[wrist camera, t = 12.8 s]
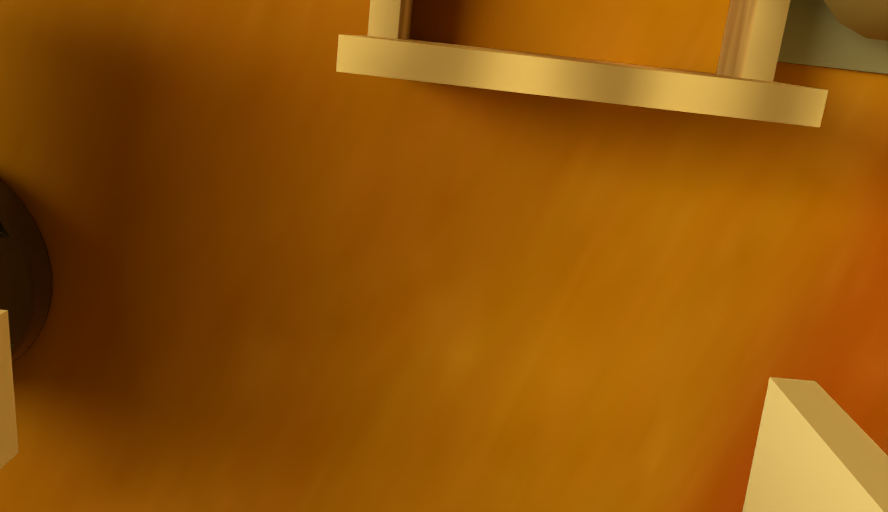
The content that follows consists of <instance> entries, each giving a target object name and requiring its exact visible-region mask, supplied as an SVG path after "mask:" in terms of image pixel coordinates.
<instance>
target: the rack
mask: <svg viewBox="0 0 888 512" xmlns="http://www.w3.org/2000/svg"><path fill="white" fill-rule="evenodd" d="M789 5H790V0H731V1H730V6H729V11H728V16H727V21H726V26H725V32H724V37H723V42H722V47H721V52H720V57H719V62H718V67H717V72H716V74H713V73H704V72H695V71H686V70H678V69H669V68H660V67H651V66H642V65H633V64H625V63H616V62H607V61H598V60H589V59H581V58H572V57H563V56H554V55H545V54H536V53H528V52H519V51H510V50H501V49H492V48H483V47H475V46H466V45H457V44H448V43H439V42H431V41H422V40H413V39H410V28H411V17H412V7H413V0H370V12H369V25H368V36H366V35H339V39H338V53H337V67H336V72H345V73H354V74H362V75H371V76H380V77H388V78H397V79H406V80H414V81H423V82H431V83H440V84H449V85H457V86H466V87H475V88H483V89H492V90H501V91H509V92H518V93H526V94H535V95H544V96H552V97H561V98H570V99H578V100H587V101H596V102H604V103H613V104H621V105H630V106H639V107H647V108H656V109H665V110H673V111H682V112H691V113H699V114H708V115H717V116H725V117H734V118H742V119H751V120H760V121H768V122H777V123H786V124H794V125H803V126H812V127H820V125H821V120H822V116H823V112H824V108H825V103H826V99H827V95H828V91H829V90H824V89H818V88H812V87H805V86H799V85H792V84H786V83H779V82H773V79H774V75H775V70H776V65H777V61H778V56H779V51H780V47H781V42H782V37H783V33H784V28H785V23H786V19H787V14H788V10H789Z"/></svg>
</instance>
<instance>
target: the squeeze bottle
mask: <svg viewBox="0 0 888 512" xmlns="http://www.w3.org/2000/svg"><path fill="white" fill-rule="evenodd" d="M824 2H825V3H826V4H827V6H828V7H829V9H830V10H831V12H832V13H833V15H834V16H835V18H836V19H837V21H838V22H839V23H841V24H842V25H844V26H846V27H848V28H849V29H851V30H853V31H854V32H856V33H858V34H860V35H861V36H863V37H865V38H868V39H877V40H887V41H888V0H824Z"/></svg>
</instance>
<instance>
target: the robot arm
mask: <svg viewBox="0 0 888 512" xmlns="http://www.w3.org/2000/svg"><path fill="white" fill-rule="evenodd" d="M51 285H52V281H51V270H50V263H49V258H48V254H47V251H46V247H45V244H44V242H43V239H42V236H41V234H40V232H39V230H38V228H37V226H36V224H35V222H34V220H33V219H32V217H31V215H30V214H29V212H28V211H27V209H26V208H25V206H24V205H23V204H22V203H21V201H20V200H19V199H18V198H17V196H16V195H15V194H14V193H13V192H12V191H11V190H10V189H9V188H8V187H7V186H6V185H5V184H4V183H3V182H1V181H0V469H1V468H2V467H3V466H4V465H5V464H6V463H8V462H9V461H10V460H11V459H12V458H13V457H14V456H15V455H16V454H18V453H19V450H18V437H17V424H16V411H15V398H14V385H13V372H12V362H13V361H14V360H16V359H17V358H18V357H20V356H21V355H22V354H23V353H24V352H25V351H26V350H27V349H28V348H29V347H30V346H31V344H32V343H33V342H34V340H35V339H36V337H37V336H38V334H39V332H40V331H41V329H42V327H43V324H44V322H45V319H46V317H47V313H48V310H49V305H50V299H51ZM743 512H888V456H887V455H886V454H885V453H884V452H883V450H882V449H881V448H880V447H879V446H878V445H877V444H876V443H875V442H874V441H873V440H872V439H871V438H870V437H869V436H868V435H867V434H866V433H865V432H864V431H863V430H862V429H861V428H860V427H859V426H858V425H857V424H856V423H855V422H854V421H853V419H852V418H851V417H850V416H849V415H848V414H847V413H846V412H845V411H844V410H843V409H842V408H841V407H840V406H839V405H838V404H837V403H836V402H835V401H834V400H833V399H832V398H831V397H830V396H829V395H828V394H827V393H826V392H825V391H824V390H823V388H822V387H821V386H820V385H819V384H818V383H817V382H816V381H809V380H797V379H786V378H775V377H770V379H769V384H768V389H767V393H766V398H765V403H764V408H763V413H762V418H761V423H760V428H759V433H758V438H757V443H756V448H755V453H754V458H753V463H752V468H751V473H750V477H749V482H748V487H747V492H746V497H745V502H744V507H743Z"/></svg>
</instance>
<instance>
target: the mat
mask: <svg viewBox="0 0 888 512" xmlns="http://www.w3.org/2000/svg"><path fill="white" fill-rule="evenodd" d="M777 62H785V63H794V64H803V65H812V66H821V67H830V68H839V69H848V70H856V71H865V72H874V73H883V74H888V41H887V40H877V39H868V38H865V37H863V36H861V35H860V34H858V33H856V32H854V31H853V30H851V29H849V28H848V27H846V26H844V25H842V24H841V23H839V22H838V21H837V19H836V18H835V16H834V15H833V13H832V12H831V10H830V9H829V7H828V6H827V4H826V3H825V2H824V0H790V5H789V10H788V14H787V19H786V23H785V28H784V33H783V37H782V42H781V47H780V51H779V56H778V61H777Z"/></svg>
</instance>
